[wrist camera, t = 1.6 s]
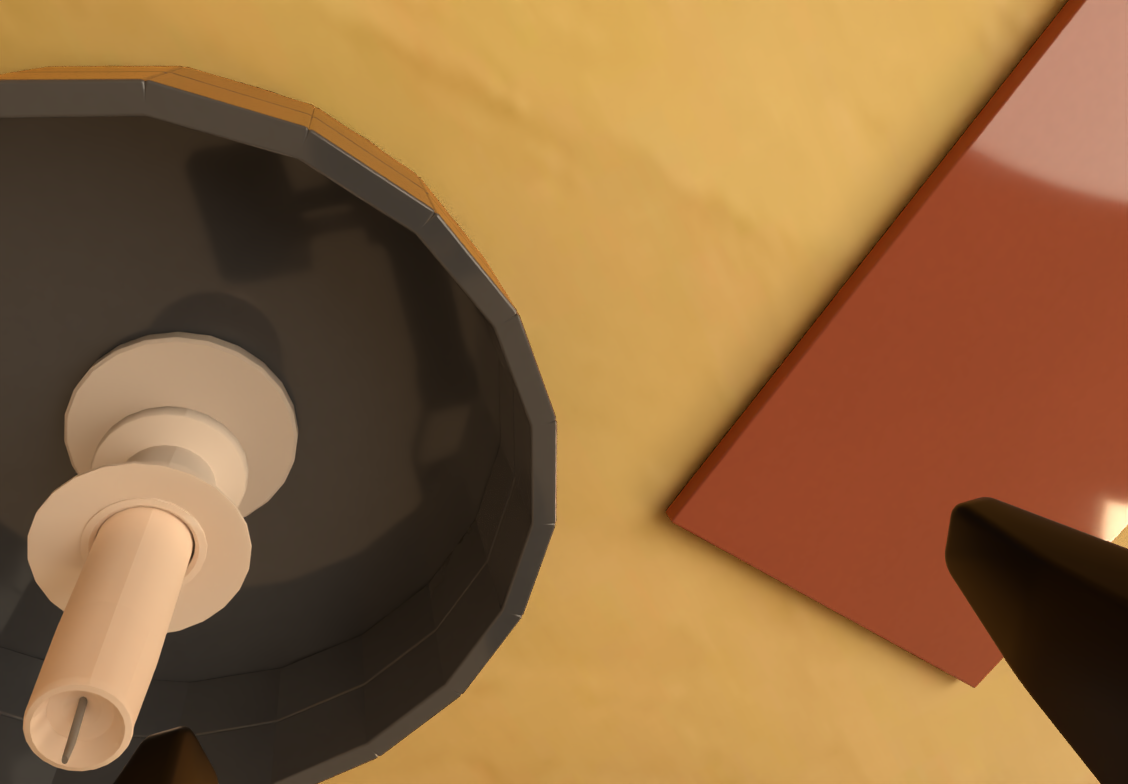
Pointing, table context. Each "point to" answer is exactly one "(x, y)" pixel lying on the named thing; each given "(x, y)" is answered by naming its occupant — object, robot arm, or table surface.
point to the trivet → (954, 365)
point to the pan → (315, 386)
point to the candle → (147, 526)
